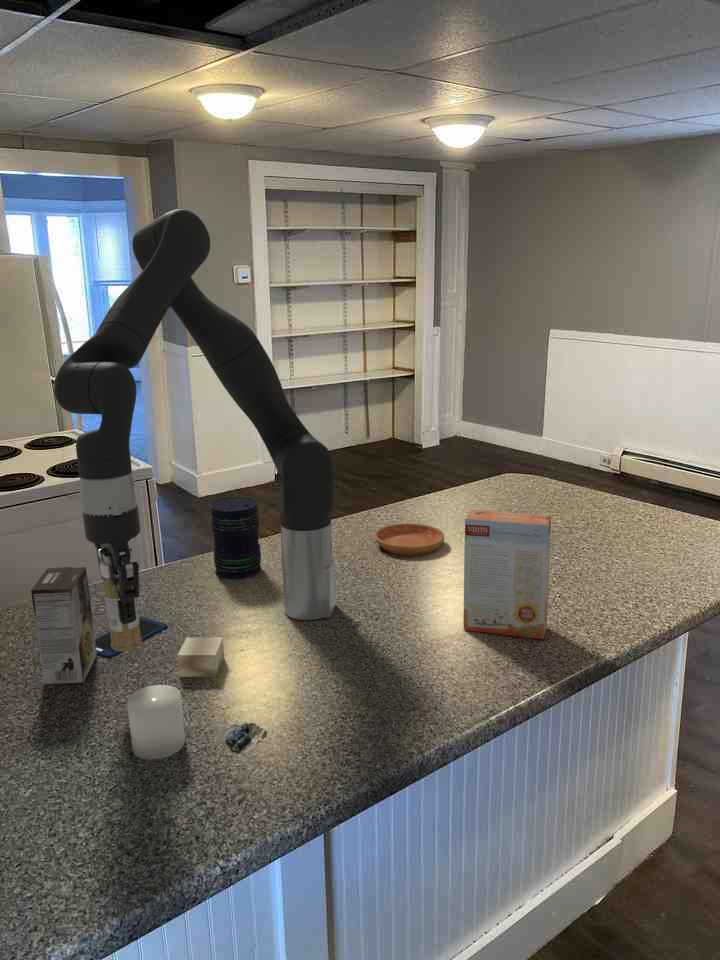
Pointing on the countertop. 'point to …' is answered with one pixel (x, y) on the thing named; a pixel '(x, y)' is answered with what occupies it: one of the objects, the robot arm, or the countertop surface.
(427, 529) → the saucer
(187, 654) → the maple block
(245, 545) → the storage jar
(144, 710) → the cream canister
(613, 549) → the countertop surface
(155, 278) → the robot arm
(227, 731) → the blueberries
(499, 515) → the cracker box
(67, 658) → the coffee box
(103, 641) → the cell phone
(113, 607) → the sprinkles bottle
